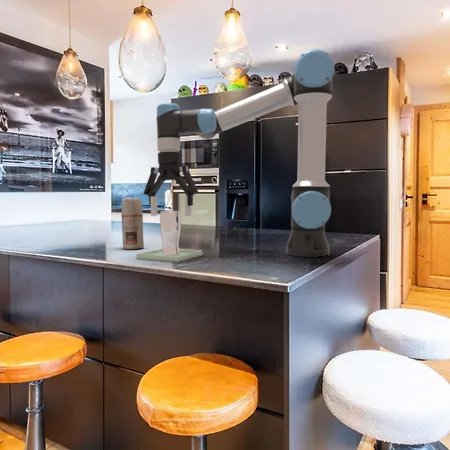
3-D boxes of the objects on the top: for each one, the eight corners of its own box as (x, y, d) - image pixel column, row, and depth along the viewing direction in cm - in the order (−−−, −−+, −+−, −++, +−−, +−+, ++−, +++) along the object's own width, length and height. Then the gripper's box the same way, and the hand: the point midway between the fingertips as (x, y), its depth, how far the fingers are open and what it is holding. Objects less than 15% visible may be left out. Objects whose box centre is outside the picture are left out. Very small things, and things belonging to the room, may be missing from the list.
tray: (202, 255, 142) (202, 250, 142) (177, 262, 128) (177, 257, 128) (164, 252, 149) (164, 247, 149) (136, 259, 135) (136, 253, 135)
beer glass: (177, 257, 135) (176, 211, 133) (157, 256, 136) (156, 211, 135) (183, 254, 141) (183, 210, 140) (164, 253, 143) (164, 210, 141)
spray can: (117, 249, 157) (116, 197, 156) (130, 246, 165) (129, 197, 163) (136, 250, 154) (135, 197, 153) (148, 247, 162) (147, 197, 160)
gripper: (207, 150, 134) (208, 215, 135) (145, 154, 145) (147, 214, 146) (195, 148, 127) (197, 216, 129) (132, 153, 138) (134, 215, 140)
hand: (170, 215), depth 137 cm, fingers open, 13 cm apart
